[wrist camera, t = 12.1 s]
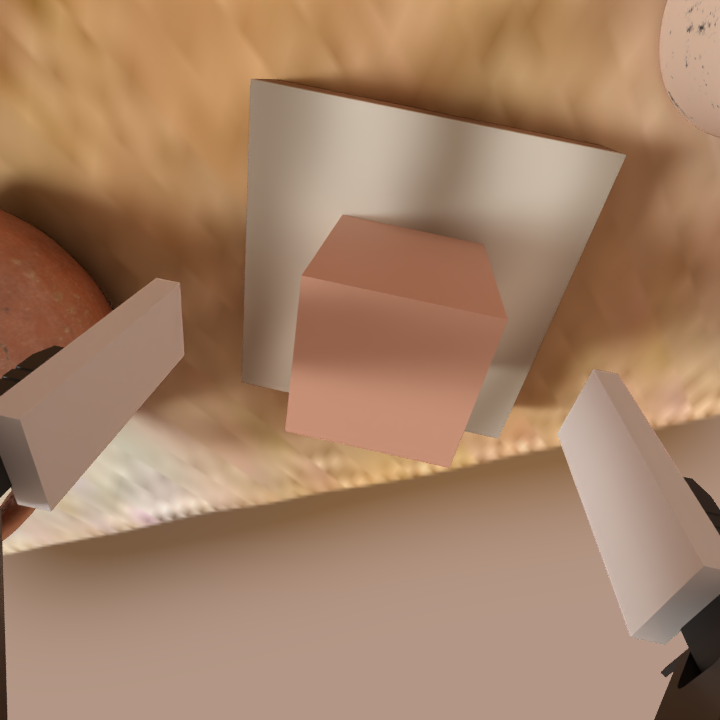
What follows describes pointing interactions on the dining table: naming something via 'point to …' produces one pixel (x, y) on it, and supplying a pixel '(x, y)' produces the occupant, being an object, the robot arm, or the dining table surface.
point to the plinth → (412, 213)
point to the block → (393, 340)
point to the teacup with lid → (692, 60)
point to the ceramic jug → (39, 309)
